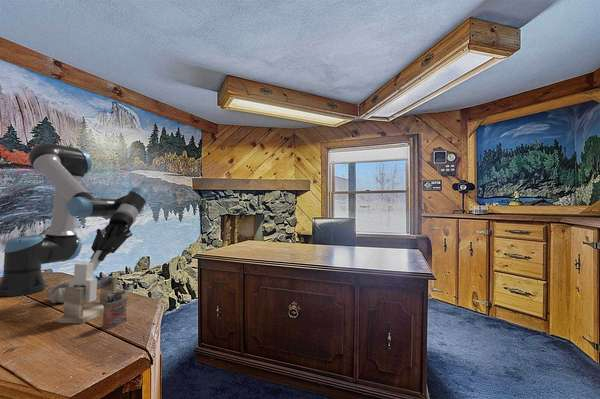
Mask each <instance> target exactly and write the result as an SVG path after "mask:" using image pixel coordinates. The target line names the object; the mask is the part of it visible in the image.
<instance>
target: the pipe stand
mask: <svg viewBox="0 0 600 399" xmlns="http://www.w3.org/2000/svg"><path fill="white" fill-rule="evenodd" d="M98 290H100V292H99V295H100V296H99V297H100V298H99V300H96V301H95V302H92V303H90V304H88V305H85V306H84V303H85V302H84V295H85V285H81V286H79V287H68V288H65V297H64V303H63V315H61V316H58V317H57V323H61V324H64V323H65V324H84V323H87V322H89V321H91V320H92V319H95V318H97V317H98V316H99V317H100V316H101V315H103V312H104V306H103V303H104V302H106V301H108V299H107V296H108V295H109V294H111V293H112V292H118V291H117V290H118V276H106V275H104V276H102V277H101V276H100V279H97V291H98Z"/></svg>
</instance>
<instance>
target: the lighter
mask: <svg viewBox="0 0 600 399" xmlns="http://www.w3.org/2000/svg"><path fill="white" fill-rule="evenodd" d="M125 294H126V290H125V289H121V290H118V291H117V292H112V293H111V294H109V295H108V296H107V299H108V301H106V302H104V303H103V306H104V312H103V314H102V315H103V316H102V324H101V329H102V330H110V329H113V328H116V327H118V326H121V325H122V324H124V323H126V322H127V321H128V320H127V318H128V317H127V307H128V296H123V295H125Z"/></svg>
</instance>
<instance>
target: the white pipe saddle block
mask: <svg viewBox="0 0 600 399" xmlns="http://www.w3.org/2000/svg"><path fill="white" fill-rule="evenodd" d="M93 265H94V263H89V262H80V263H75V264H74V268H73V271H74V272H73V278H74V279H72V278H70V279H71V280H69V287H79V286H81V285H85V295H84V303H91V302H92V303H93V302H94V301H97V291H98V290H97V280H98V278H96V277H95V278H94V271H93Z"/></svg>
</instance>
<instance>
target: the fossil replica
mask: <svg viewBox="0 0 600 399" xmlns="http://www.w3.org/2000/svg"><path fill="white" fill-rule="evenodd" d="M71 279H74V277H73V278H69V279H67V280H62V281H61V282H59V283H57V284H55V285H53V286H52V287H51V288H50V290H47V292H46V295H45V298H48V300H49V301H50V302H51V303H52V304H57V303H58V304H59V303H61V304H64V297H65V288H68V287H69V280H71Z"/></svg>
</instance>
